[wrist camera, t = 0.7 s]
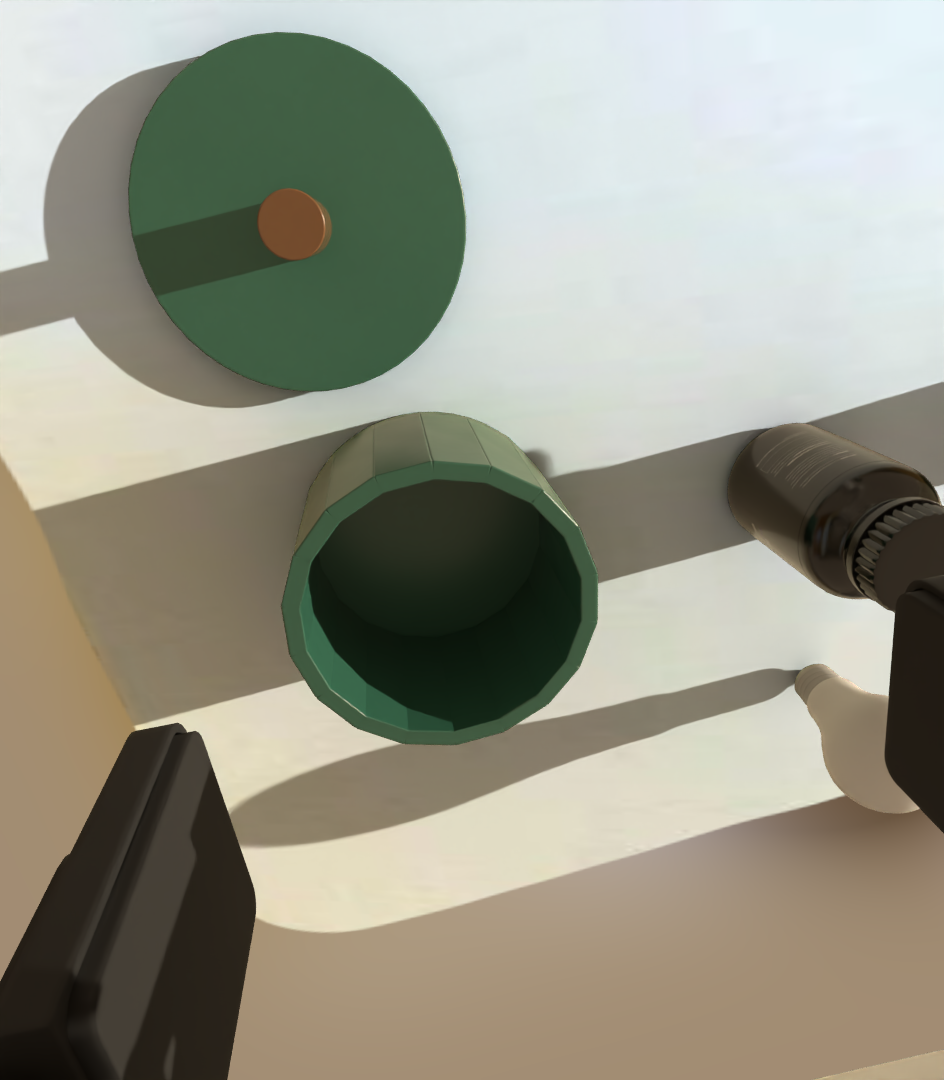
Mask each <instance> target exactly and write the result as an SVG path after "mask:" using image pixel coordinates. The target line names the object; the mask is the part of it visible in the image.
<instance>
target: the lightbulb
mask: <svg viewBox="0 0 944 1080" xmlns="http://www.w3.org/2000/svg"><path fill="white" fill-rule="evenodd" d="M795 690H796V692H797V694H798V695H799V696H800V697H801V699H802V700H803V701H804V703H805V704H806V705H807V708H808V711H809V713H810V715H811V717H812V718H813V719H814V721H815V722H816V723H817V725H818V727H819V729H820V732H821V740H822V751H823V758H824V762H825V766H826V768H827V770H828V772H829V774H830V776H831V778H832V780H833V781H834V783H835V784H836V785H837V786H838V788H839V789H840V790H841V791H842V792H843V793H844V794H845V795H847V796H848V797H849V798H851V799H852V800H854V801H855V802H857V803H859V804H861V805H863V806H864V807H866V808H869V809H873V810H876V811H880V812H885V813H907V812H911V811H915V810H917V809H920V808H919V807H918V806H917V805H916V804H915V803H914V802H913V801H912V800H911V799H910V798H909V797H908V796H907V795H906V794H905V793H904V792H903V791H902V789H901V788H900V787H899V786H898V785H897V784H896V783H895V782H894V781H893V779H892V778H891V776H890V774H889V772H888V770H887V767H886V763H885V758H884V751H885V738H886V725H887V712H888V699H889V696H886V695H879V694H871V693H869V692H866V691H864V690H862V689H860V688H859V687H857V686H856V685H855V684H854V683H852V682H851V681H849V680H847V679H845V678H841V677H840V676H839V675H838V674H836V673H835V672H834V671H833V670H831V669H830V668H829V667H827V666H826V665H823V664H813V665H809V666H807V667H805V668H804V669H802V670H801V671H800V672H799V674H798V675H797V677H796V680H795Z"/></svg>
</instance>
